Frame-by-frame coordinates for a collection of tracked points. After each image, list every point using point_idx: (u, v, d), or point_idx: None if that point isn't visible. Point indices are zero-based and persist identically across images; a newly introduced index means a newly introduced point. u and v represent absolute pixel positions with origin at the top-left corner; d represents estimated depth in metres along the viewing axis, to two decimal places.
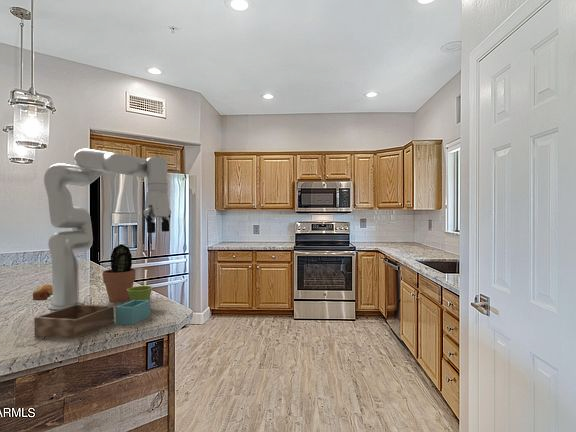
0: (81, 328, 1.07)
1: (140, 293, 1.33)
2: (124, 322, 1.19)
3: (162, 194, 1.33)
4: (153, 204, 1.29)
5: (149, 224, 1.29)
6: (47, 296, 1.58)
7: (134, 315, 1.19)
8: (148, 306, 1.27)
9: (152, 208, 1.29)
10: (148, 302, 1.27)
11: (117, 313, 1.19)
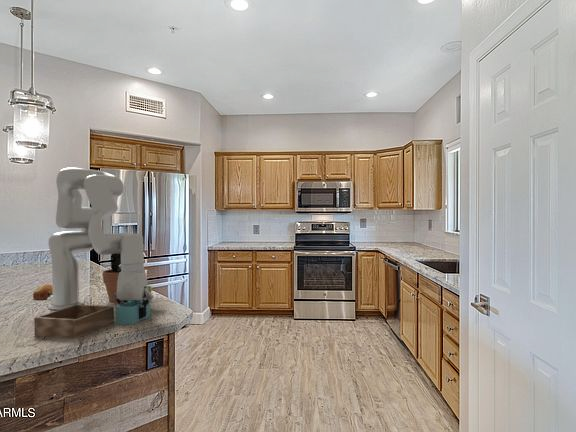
0: (81, 328, 1.07)
1: None
2: (124, 322, 1.19)
3: None
4: (147, 285, 1.24)
5: (144, 308, 1.22)
6: (47, 296, 1.58)
7: (134, 314, 1.19)
8: (148, 306, 1.27)
9: (147, 289, 1.23)
10: None
11: (117, 313, 1.19)
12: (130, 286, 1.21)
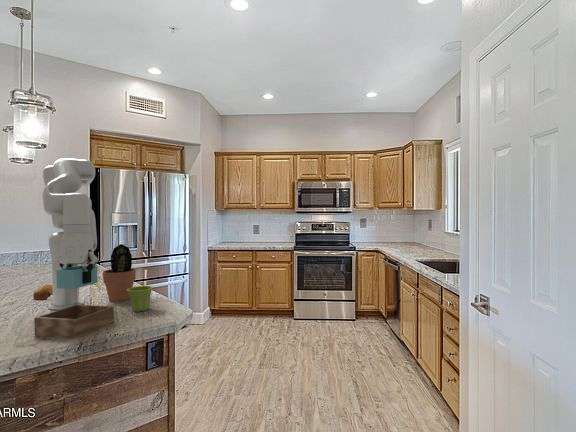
0: (81, 328, 1.07)
1: (140, 293, 1.33)
2: (65, 286, 1.10)
3: None
4: (92, 248, 1.15)
5: (89, 273, 1.14)
6: (48, 296, 1.58)
7: (76, 279, 1.11)
8: (95, 271, 1.19)
9: (92, 253, 1.15)
10: (95, 267, 1.19)
11: (58, 277, 1.11)
12: (73, 248, 1.12)
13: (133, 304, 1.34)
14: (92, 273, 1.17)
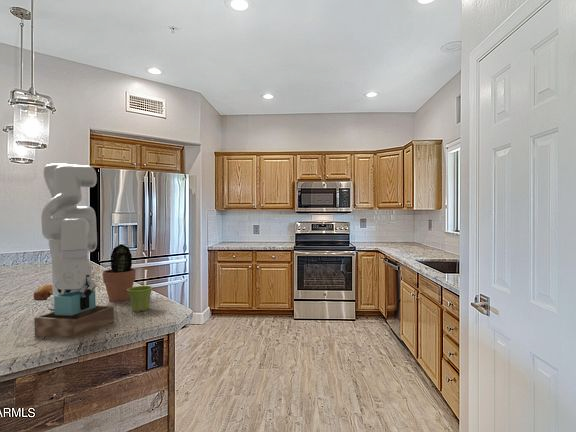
0: (81, 328, 1.07)
1: (140, 293, 1.33)
2: (63, 313, 1.10)
3: None
4: (90, 274, 1.15)
5: (87, 299, 1.14)
6: (48, 296, 1.58)
7: (74, 305, 1.10)
8: (93, 296, 1.18)
9: (90, 278, 1.14)
10: (93, 292, 1.18)
11: (56, 303, 1.10)
12: (70, 274, 1.12)
13: (133, 304, 1.34)
14: (90, 298, 1.17)
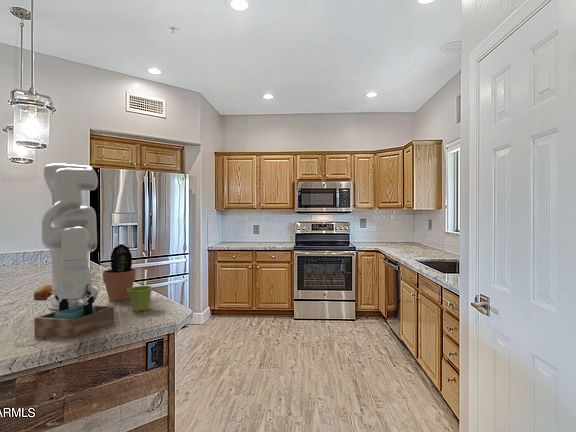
0: (81, 328, 1.07)
1: (140, 293, 1.33)
2: None
3: None
4: (90, 283, 1.15)
5: (90, 306, 1.13)
6: (48, 296, 1.58)
7: None
8: (93, 312, 1.18)
9: None
10: (93, 308, 1.18)
11: None
12: (71, 284, 1.12)
13: (133, 304, 1.34)
14: None
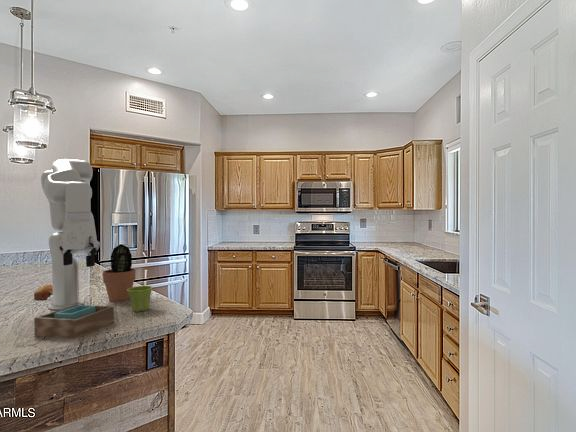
0: (81, 328, 1.07)
1: (140, 293, 1.33)
2: None
3: None
4: (93, 235, 1.20)
5: (92, 257, 1.19)
6: (48, 296, 1.58)
7: None
8: (93, 312, 1.18)
9: None
10: (93, 308, 1.18)
11: None
12: (74, 235, 1.17)
13: (133, 304, 1.34)
14: None
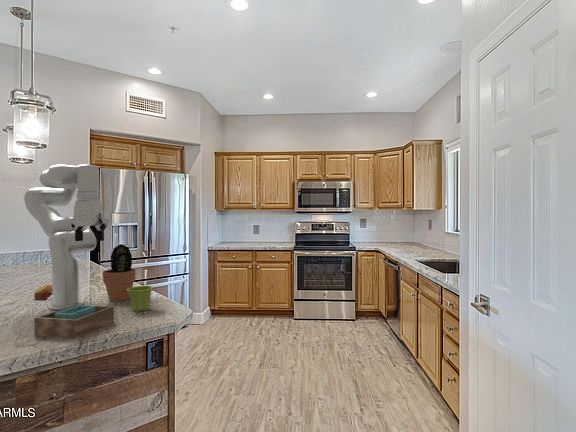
0: (81, 328, 1.07)
1: (140, 293, 1.33)
2: None
3: None
4: (102, 213, 1.32)
5: (102, 232, 1.31)
6: (49, 296, 1.58)
7: None
8: (93, 312, 1.18)
9: None
10: (93, 308, 1.18)
11: None
12: (85, 212, 1.29)
13: (133, 304, 1.34)
14: None
